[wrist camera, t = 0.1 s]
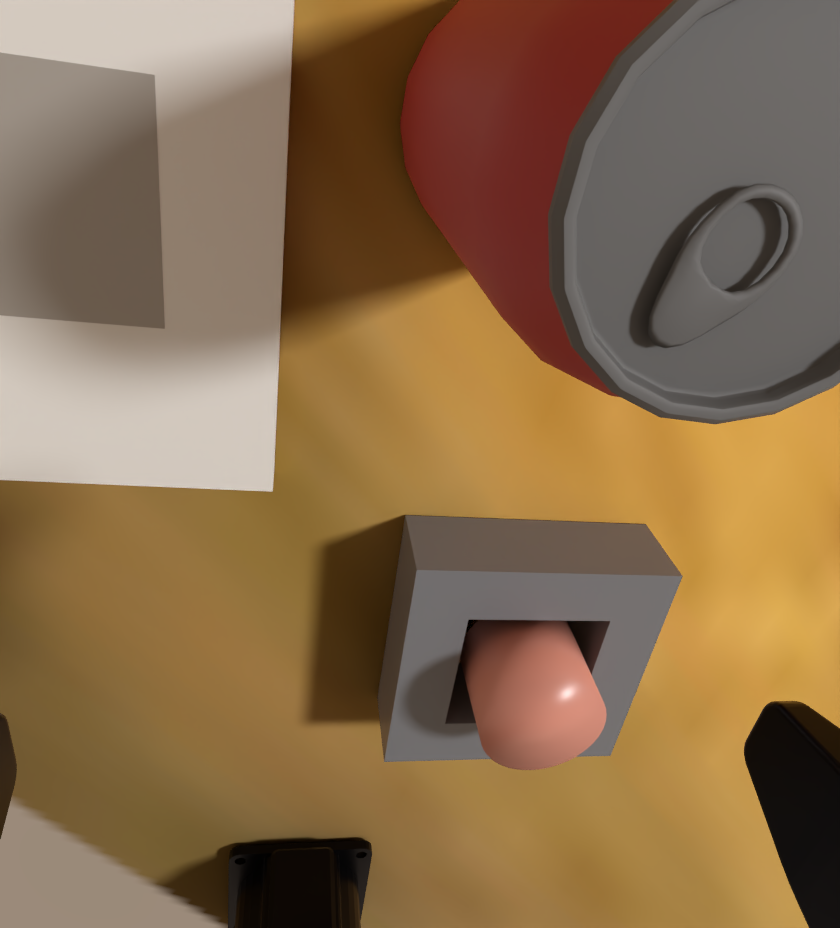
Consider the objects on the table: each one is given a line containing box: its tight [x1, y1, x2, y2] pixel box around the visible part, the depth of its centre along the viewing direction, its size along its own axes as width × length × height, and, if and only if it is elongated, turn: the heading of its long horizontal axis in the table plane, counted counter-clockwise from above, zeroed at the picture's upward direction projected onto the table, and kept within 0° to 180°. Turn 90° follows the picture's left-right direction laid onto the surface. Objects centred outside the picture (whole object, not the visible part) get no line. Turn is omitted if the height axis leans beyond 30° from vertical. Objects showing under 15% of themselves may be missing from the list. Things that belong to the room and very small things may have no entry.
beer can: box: [400, 0, 840, 424], centre depth 14 cm, size 7×7×12 cm
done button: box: [460, 620, 607, 770], centre depth 25 cm, size 4×4×4 cm
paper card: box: [0, 0, 294, 492], centre depth 18 cm, size 14×12×1 cm
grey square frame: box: [377, 515, 682, 762], centre depth 26 cm, size 9×9×3 cm
